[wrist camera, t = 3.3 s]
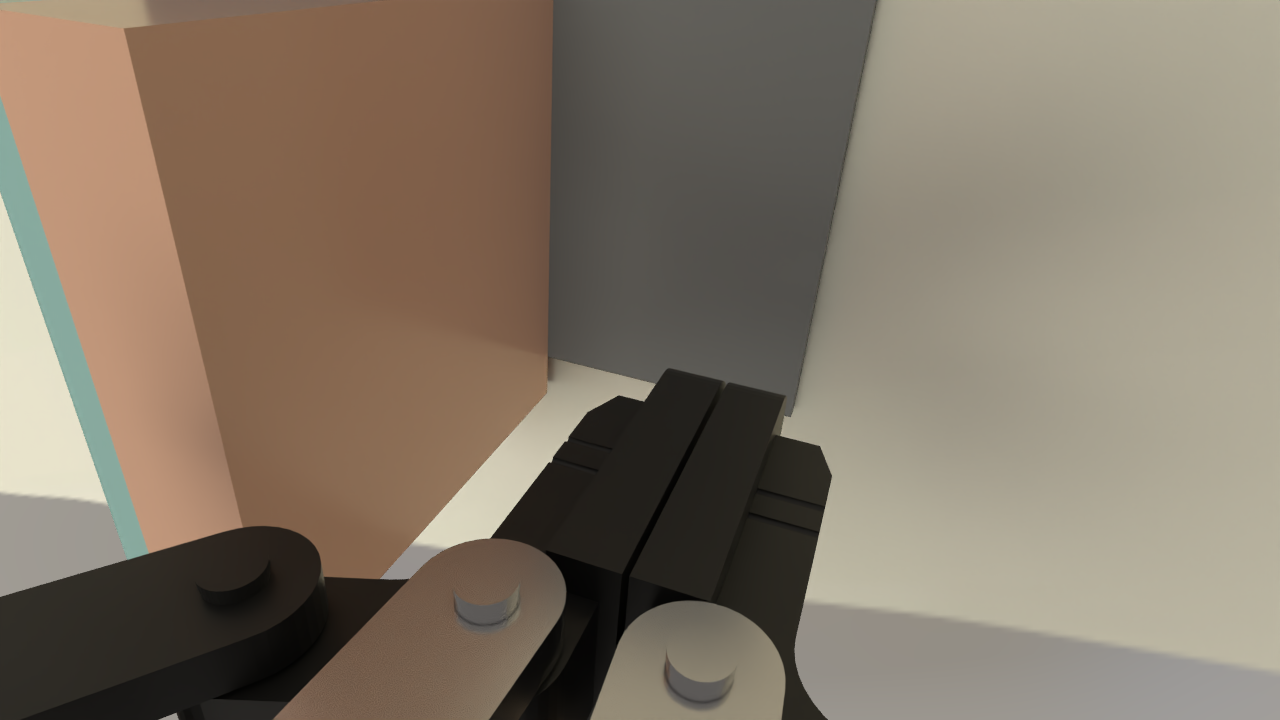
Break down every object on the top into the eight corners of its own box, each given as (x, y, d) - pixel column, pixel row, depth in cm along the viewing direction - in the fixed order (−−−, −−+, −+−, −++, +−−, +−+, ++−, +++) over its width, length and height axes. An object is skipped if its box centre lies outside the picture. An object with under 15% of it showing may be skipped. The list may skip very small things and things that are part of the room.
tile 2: (553, -19, 14) (124, 28, 7) (547, 392, 19) (280, 688, 11) (440, -31, 15) (-66, 0, 8) (459, 369, 20) (153, 636, 12)
